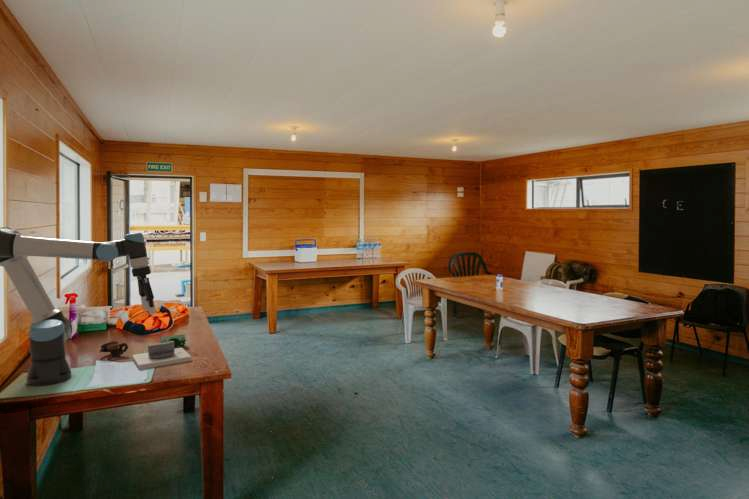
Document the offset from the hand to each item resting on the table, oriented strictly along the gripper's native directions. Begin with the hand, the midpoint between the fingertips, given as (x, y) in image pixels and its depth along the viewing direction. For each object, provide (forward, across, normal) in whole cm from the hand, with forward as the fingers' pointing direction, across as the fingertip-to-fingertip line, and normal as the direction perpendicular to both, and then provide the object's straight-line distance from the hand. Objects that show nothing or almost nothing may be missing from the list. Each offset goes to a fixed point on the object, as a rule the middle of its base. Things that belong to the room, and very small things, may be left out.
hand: (149, 311), depth 221 cm
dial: (+20, -3, -1) cm, 21 cm away
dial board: (+23, -3, 0) cm, 23 cm away
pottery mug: (+20, +16, +16) cm, 30 cm away
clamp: (+24, +15, -10) cm, 30 cm away
